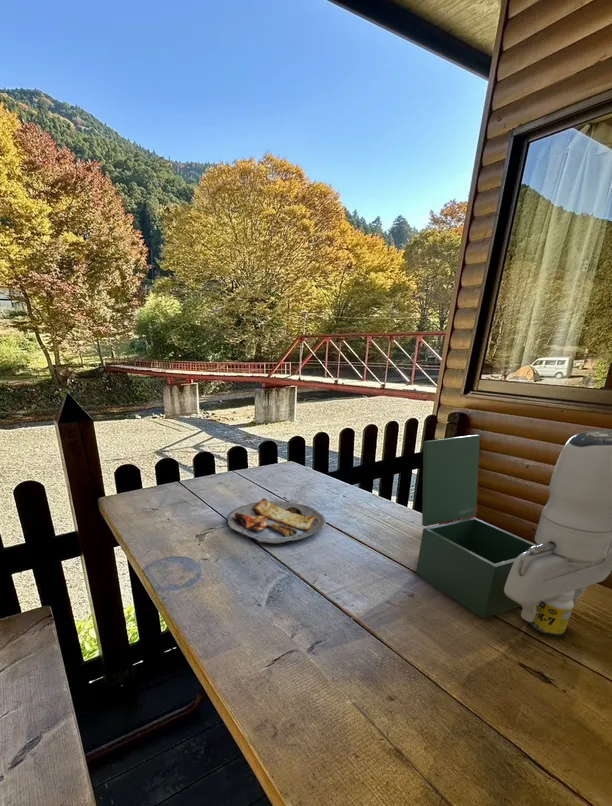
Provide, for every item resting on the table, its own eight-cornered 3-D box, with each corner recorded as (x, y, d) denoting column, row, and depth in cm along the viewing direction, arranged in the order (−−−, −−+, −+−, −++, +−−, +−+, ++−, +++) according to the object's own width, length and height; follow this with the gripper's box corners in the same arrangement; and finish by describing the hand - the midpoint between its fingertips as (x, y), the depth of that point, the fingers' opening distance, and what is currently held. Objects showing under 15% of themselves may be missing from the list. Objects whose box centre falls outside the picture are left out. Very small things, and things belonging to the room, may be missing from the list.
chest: (536, 603, 75) (551, 551, 71) (482, 621, 70) (495, 567, 66) (464, 562, 89) (474, 517, 85) (415, 575, 84) (423, 528, 80)
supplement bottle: (522, 624, 70) (534, 581, 67) (541, 617, 71) (554, 576, 68) (550, 642, 65) (565, 598, 62) (570, 635, 67) (585, 591, 64)
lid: (479, 434, 81) (476, 434, 82) (426, 441, 76) (423, 441, 77) (476, 515, 84) (472, 514, 85) (425, 526, 79) (421, 525, 80)
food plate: (209, 524, 107) (209, 512, 106) (270, 501, 122) (270, 490, 121) (282, 559, 90) (282, 545, 89) (341, 527, 105) (342, 514, 104)
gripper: (546, 560, 56) (522, 641, 61) (636, 534, 63) (607, 608, 68) (504, 540, 62) (485, 616, 66) (590, 518, 69) (567, 588, 73)
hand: (547, 612), depth 67 cm, fingers open, 8 cm apart
